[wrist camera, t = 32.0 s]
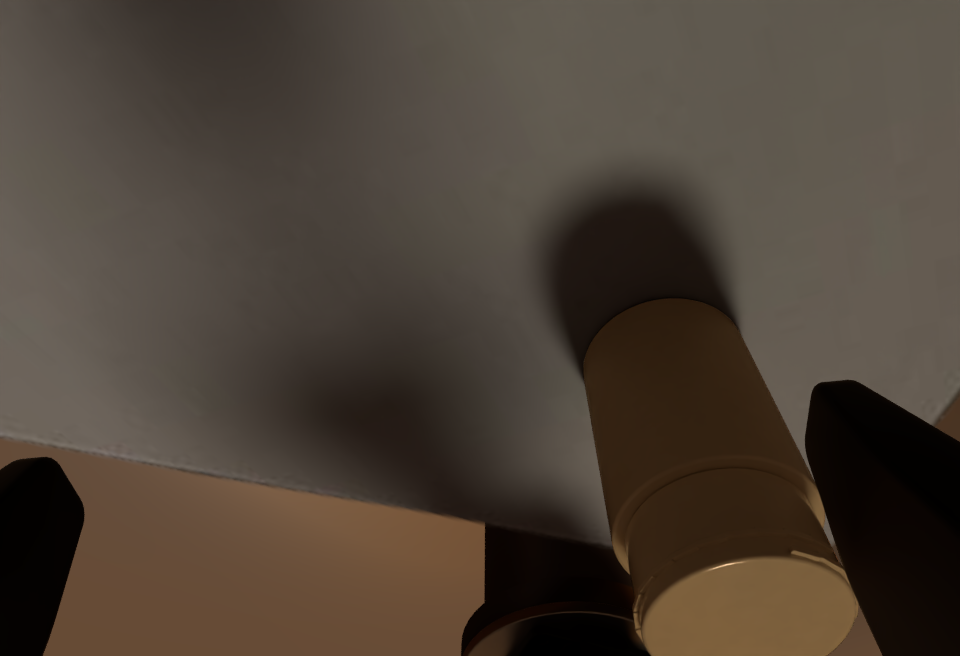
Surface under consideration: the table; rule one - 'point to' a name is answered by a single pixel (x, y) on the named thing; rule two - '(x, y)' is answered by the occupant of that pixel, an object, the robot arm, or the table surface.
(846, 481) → the robot arm
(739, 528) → the jar
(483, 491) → the table surface
